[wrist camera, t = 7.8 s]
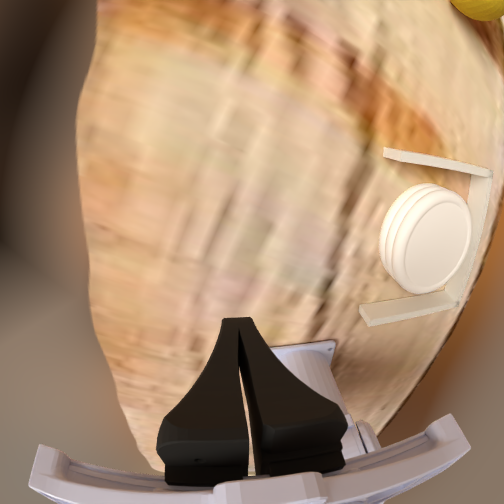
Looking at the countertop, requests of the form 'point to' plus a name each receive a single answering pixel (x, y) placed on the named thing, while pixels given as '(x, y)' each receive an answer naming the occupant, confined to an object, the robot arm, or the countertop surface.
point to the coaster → (425, 237)
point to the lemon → (480, 8)
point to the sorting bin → (456, 285)
